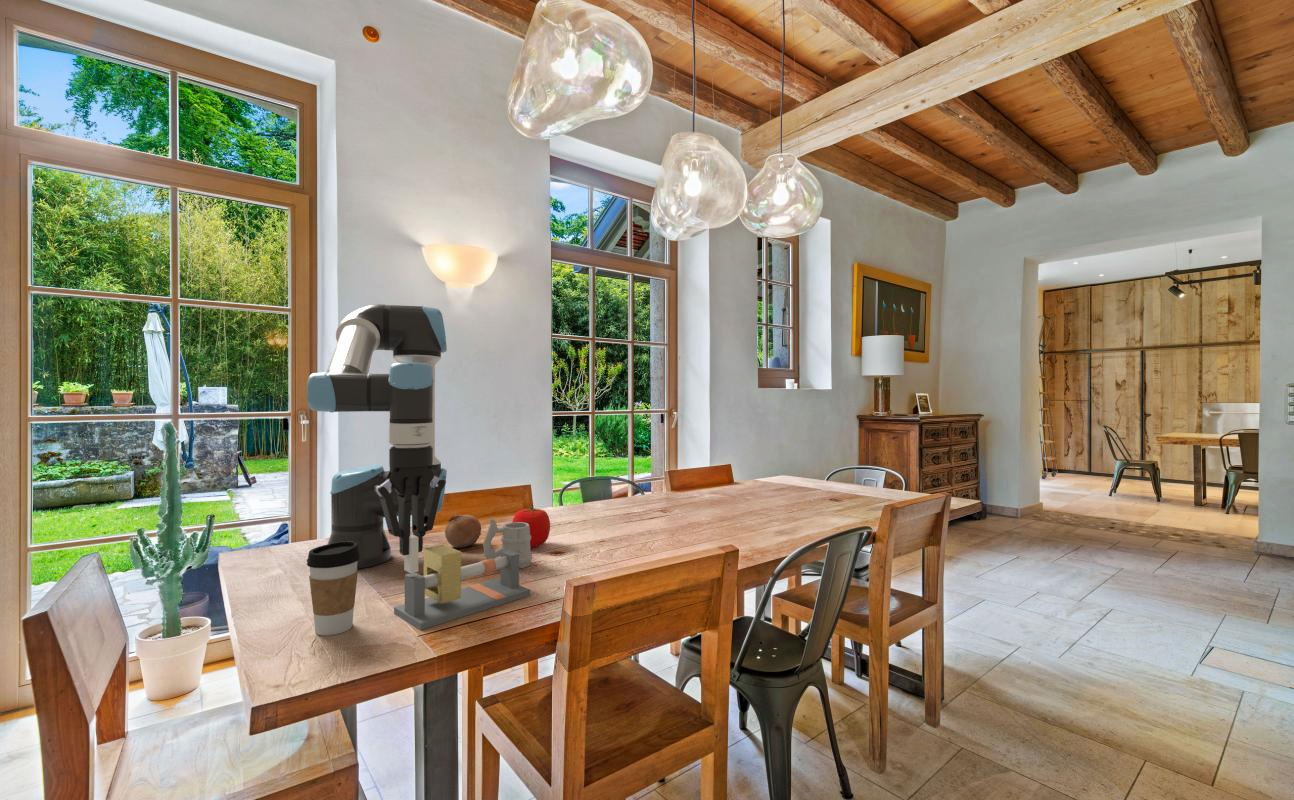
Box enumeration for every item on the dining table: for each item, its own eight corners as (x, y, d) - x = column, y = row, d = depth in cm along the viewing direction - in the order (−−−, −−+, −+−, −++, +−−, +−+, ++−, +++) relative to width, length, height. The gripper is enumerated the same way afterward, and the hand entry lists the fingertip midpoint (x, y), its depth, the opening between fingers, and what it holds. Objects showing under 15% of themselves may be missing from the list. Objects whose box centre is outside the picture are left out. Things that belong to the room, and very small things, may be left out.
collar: (423, 594, 113) (423, 548, 112) (442, 589, 115) (442, 544, 115) (441, 603, 108) (441, 556, 107) (460, 598, 111) (461, 551, 110)
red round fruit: (512, 542, 161) (512, 504, 161) (549, 540, 163) (550, 503, 163) (510, 552, 151) (510, 512, 151) (550, 551, 153) (550, 511, 153)
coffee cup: (367, 628, 103) (367, 546, 103) (316, 643, 97) (316, 556, 97) (349, 615, 109) (349, 537, 109) (300, 629, 103) (299, 546, 102)
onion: (450, 560, 154) (432, 529, 151) (462, 541, 163) (445, 512, 160) (481, 549, 152) (464, 518, 150) (491, 531, 161) (475, 501, 159)
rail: (394, 613, 110) (394, 571, 110) (501, 582, 128) (501, 546, 128) (420, 630, 103) (420, 585, 103) (530, 595, 120) (530, 556, 120)
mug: (535, 567, 139) (535, 518, 139) (485, 573, 134) (485, 522, 134) (528, 558, 146) (528, 512, 146) (480, 564, 141) (481, 515, 141)
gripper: (384, 449, 99) (384, 584, 100) (453, 444, 109) (453, 567, 109) (367, 446, 104) (367, 574, 105) (435, 441, 114) (434, 559, 114)
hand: (411, 570), depth 107 cm, fingers closed
